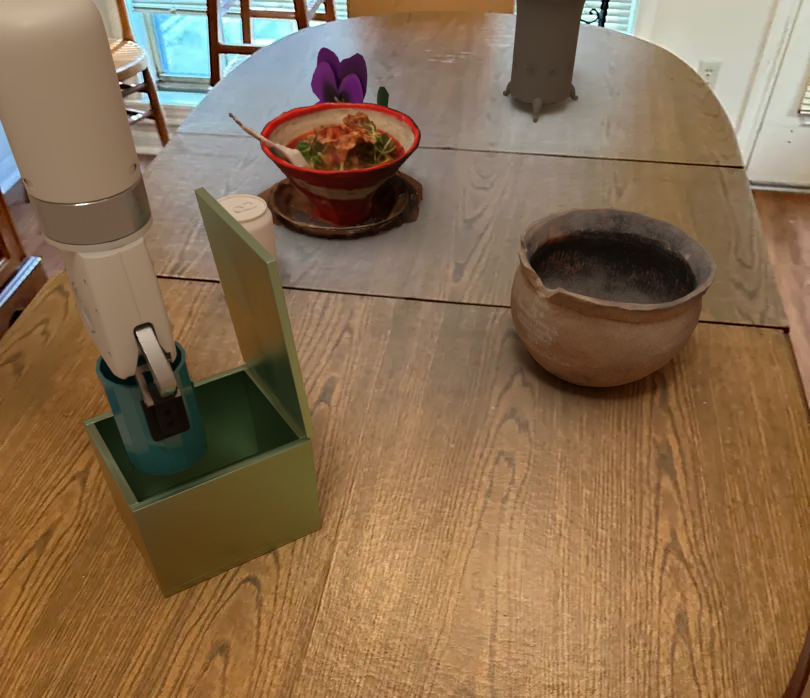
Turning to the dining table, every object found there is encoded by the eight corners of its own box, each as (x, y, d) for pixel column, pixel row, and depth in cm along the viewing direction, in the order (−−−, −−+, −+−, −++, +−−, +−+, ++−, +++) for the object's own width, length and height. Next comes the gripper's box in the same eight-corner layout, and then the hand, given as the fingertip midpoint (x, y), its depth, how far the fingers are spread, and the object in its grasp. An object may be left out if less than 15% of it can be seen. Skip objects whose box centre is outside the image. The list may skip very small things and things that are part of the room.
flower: (344, 146, 151) (290, 128, 141) (369, 61, 145) (315, 36, 135) (394, 171, 144) (342, 154, 134) (423, 82, 137) (371, 58, 127)
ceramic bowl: (474, 331, 102) (483, 220, 91) (619, 299, 107) (645, 189, 96) (556, 437, 88) (578, 322, 77) (717, 394, 94) (761, 280, 82)
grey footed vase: (574, 125, 146) (599, -38, 127) (495, 119, 148) (508, -42, 129) (579, 88, 158) (602, -66, 139) (505, 83, 160) (519, -70, 141)
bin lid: (266, 263, 56) (276, 259, 57) (193, 189, 64) (202, 186, 64) (307, 438, 70) (315, 434, 70) (243, 360, 77) (250, 357, 78)
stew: (238, 252, 115) (219, 138, 103) (253, 179, 131) (238, 72, 119) (429, 250, 116) (432, 136, 104) (421, 177, 131) (423, 70, 119)
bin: (165, 598, 73) (132, 512, 64) (117, 509, 81) (82, 420, 72) (321, 528, 79) (311, 440, 70) (263, 451, 87) (247, 362, 78)
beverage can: (210, 290, 108) (193, 205, 99) (259, 270, 112) (247, 186, 103) (243, 315, 104) (229, 229, 95) (293, 293, 108) (283, 208, 99)
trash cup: (143, 486, 67) (112, 398, 60) (116, 439, 71) (84, 352, 64) (220, 456, 70) (199, 368, 63) (189, 413, 74) (166, 326, 67)
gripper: (4, 171, 57) (80, 370, 71) (76, 278, 48) (148, 485, 61) (105, 148, 60) (159, 344, 73) (192, 244, 50) (237, 450, 64)
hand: (154, 407), depth 67 cm, fingers closed on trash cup, 7 cm apart
